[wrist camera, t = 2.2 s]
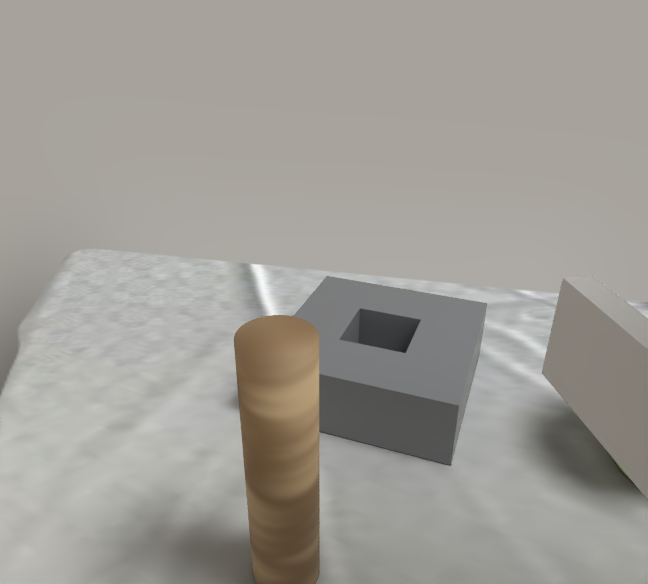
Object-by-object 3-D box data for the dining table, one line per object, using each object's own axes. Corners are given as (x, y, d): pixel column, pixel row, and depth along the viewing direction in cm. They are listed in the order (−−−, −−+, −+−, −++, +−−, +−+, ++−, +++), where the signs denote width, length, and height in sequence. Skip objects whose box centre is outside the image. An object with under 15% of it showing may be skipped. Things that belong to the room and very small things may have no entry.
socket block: (479, 354, 50) (487, 303, 48) (450, 465, 39) (459, 405, 36) (326, 324, 55) (327, 276, 52) (260, 415, 43) (256, 359, 41)
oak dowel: (328, 553, 33) (331, 324, 26) (304, 610, 30) (299, 368, 23) (270, 534, 34) (257, 309, 27) (241, 587, 31) (218, 350, 24)
